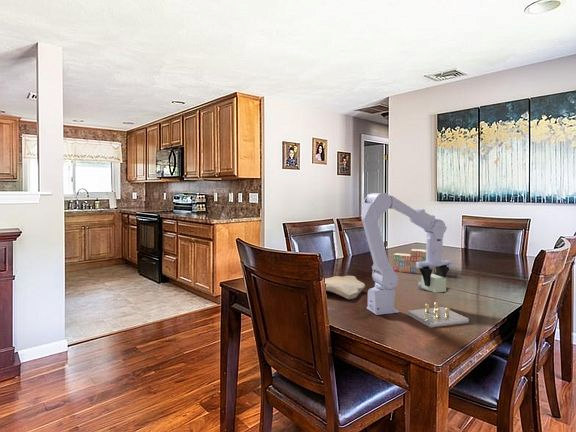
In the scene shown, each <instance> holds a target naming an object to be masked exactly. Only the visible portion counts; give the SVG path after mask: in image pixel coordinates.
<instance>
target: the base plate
mask: <svg viewBox="0 0 576 432" xmlns="http://www.w3.org/2000/svg"><path fill="white" fill-rule="evenodd" d="M433 303H434V304H433V306H434V307H431V308H430V304H429V303H427V302H426V303H425V308H422V309H421V308H420V309H413V310H412V309H411V310H410V309H409V310H407V314H406V315H407V316H409V317H411V318H412V319H415V320H416V321H418V322H419V323H421V324H423V325H425V326H427V327H428V328H436V327H437V328H439V327H444V326H446V327H447V326H454V325H460V324H461V325H462V324H469V320H470V319H469V317H466V316H464V315H462V314H459V313H457V312H456V311H453V310H451V309H450V307H444V306H439V303H438V302H433Z"/></svg>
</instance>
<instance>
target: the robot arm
mask: <svg viewBox="0 0 576 432" xmlns="http://www.w3.org/2000/svg"><path fill="white" fill-rule="evenodd" d="M362 203H363V208H362V212H361V218H360V219H361V223H362V226H363V230H364V234H365V237H366V240H367V244H368V249H369V252H370V256H371V258H372V262H373V264H372V265H371V269H372V274H371V277H372V281H374V287H372V288H369V289H368V290H367V306H366V309H367V310H368V311H370V312H371V313H373V314H375V315H377V316H378V315H380V316H381V315H389V314H390V315H391V314H395V313H396V314H399V313H400V311H399V310H398V309H396V308H395V300H396V299H395V297H396V296H395V294H396V292H395V291H396V287H397V286H398V283H399V277H398V274H396V271H394V270H393V266H392V264H391V263H390V262H389V260H388V256H387V251H386V249H385V246H384V241H383V237H382V235H381V234H382V233H381V231H380V226H379V223H378V220H379V219H380V217H381V216H382V215H383V214H384V213H386V212H387V211H388V210H389V209H390V210H395V211H396V212H399V213H400V214H403V215H404V216H406V217H408V218H409V221H410V222H411V223H412V224H414V225H416V226H418V227H420V228H421V229H422V230H423V231H424V232H426V249H425V250H426V261H422V262H416V267H417V268H419V270H420V272H421V277H422V276H423V279H424V283H425V286H428V287H430V278H431V273H432V270H431V269H430V268H429V267H435V273H436V275H438V276H441V277H444V278H446V276H447V274H448V272H449V271H450V267H452V266H453V262H452V260H449V259H444V260H443V248H444V247H443V243H444V242H443V240H444V234H445V233H446V231H447V227H448V226H446V222H444V221H443V220H442V219H440V218H439V219H438V218H436V216H435V215H434V214H429V213H427V212H426V210H425V209H424V208H416V209H414V208H412V207H411V206H409V205H407V204H406V203H404V202H403V201H401V200H400V199H398V198H397V197H395V196H393V195H390V194H388V193H386V192H380V193H379V192H370V193H368V194H367V195H366V197H365V198H364V200H363V201H362Z"/></svg>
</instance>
